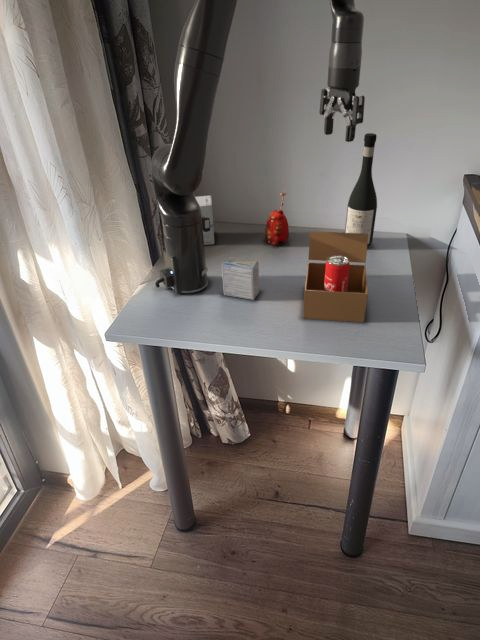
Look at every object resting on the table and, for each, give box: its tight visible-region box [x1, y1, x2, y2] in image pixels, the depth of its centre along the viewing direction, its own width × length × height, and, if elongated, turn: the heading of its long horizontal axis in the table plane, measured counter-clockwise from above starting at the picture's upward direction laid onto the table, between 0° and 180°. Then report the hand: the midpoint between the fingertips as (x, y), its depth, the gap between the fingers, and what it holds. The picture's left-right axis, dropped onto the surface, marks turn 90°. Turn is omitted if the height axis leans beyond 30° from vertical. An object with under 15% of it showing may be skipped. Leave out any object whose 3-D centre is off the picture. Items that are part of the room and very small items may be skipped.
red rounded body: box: [264, 189, 290, 247], centre depth 138 cm, size 8×7×15 cm
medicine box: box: [221, 256, 260, 301], centre depth 115 cm, size 8×4×9 cm, turn 71°
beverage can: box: [324, 255, 351, 292], centre depth 109 cm, size 5×5×12 cm
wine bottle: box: [344, 132, 378, 248], centre depth 131 cm, size 8×8×30 cm
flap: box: [307, 230, 368, 264], centre depth 113 cm, size 7×14×1 cm
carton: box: [302, 261, 369, 323], centre depth 111 cm, size 14×14×7 cm
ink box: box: [195, 195, 216, 246], centre depth 140 cm, size 9×5×12 cm, turn 6°
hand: (338, 137), depth 123 cm, fingers open, 8 cm apart
